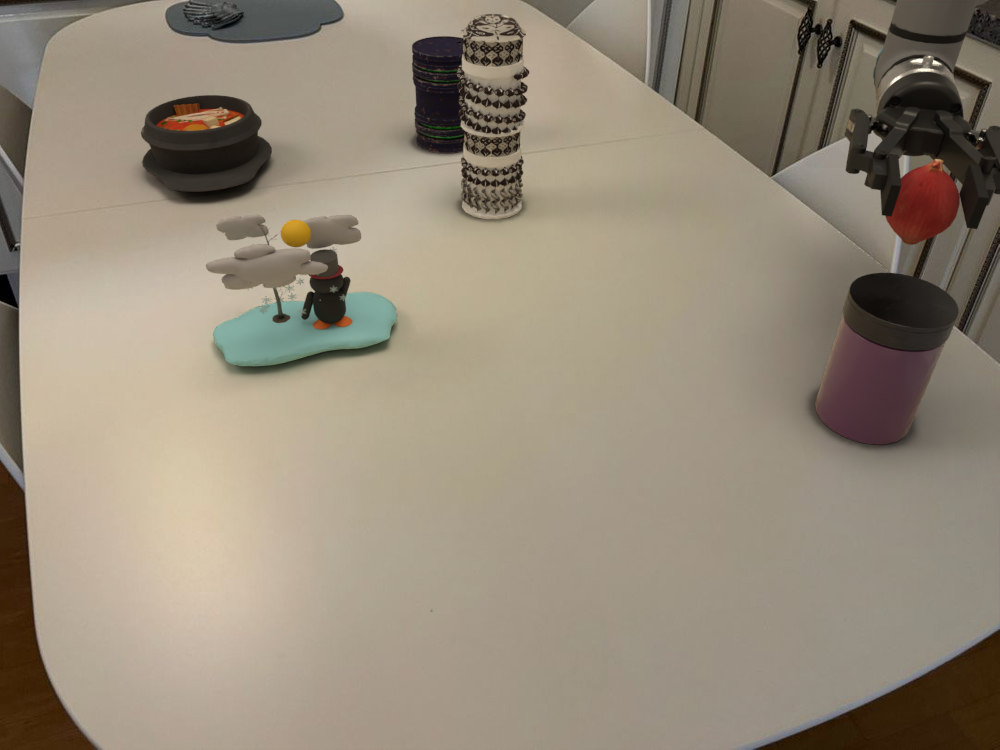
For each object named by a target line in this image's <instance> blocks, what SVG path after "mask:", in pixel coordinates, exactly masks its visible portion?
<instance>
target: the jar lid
mask: <svg viewBox="0 0 1000 750" xmlns="http://www.w3.org/2000/svg"><path fill="white" fill-rule="evenodd" d="M959 312H960V310H959V306H958V303H957V301H956V300H955V299H954V297H953V296H952V295H951V294H949V293H948V292H947V291H946V290H944V289H943V288H941V287H940V286H938V285H936V284H934V283H932V282H929V281H927V280H924V279H922V278H920V277H916V276H912V275H908V274H905V273H904V274H903V273H897V272H873V273H867V274H863V275H861V276H859V277H857V278H855V279H854V280H853V281H852V283H851V284H850V286H849V289H848V292H847V295H846V297H845V301H844V304H843V308H842V315H843V316H844V318H845V320H846V322H847V323H848V325H849V326H850V327H851V328H852V329H853V330H854V331H856V332H857V333H858V334H860V335H861V336H863V337H865V338H867V339H869V340H871V341H873V342H875V343H878V344H881V345H883V346H887V347H891V348H895V349H901V350H911V351H920V350H929V349H933V348H936V347H939V346H941V345H942V344H944V343H945V344H946V342H947V341H948V340H949V338H950V336H951V333H952V331H953V328H954V326H955V324H956V322H957V319H958V317H959ZM945 344H944V345H945Z"/></svg>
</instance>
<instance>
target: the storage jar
mask: <svg viewBox="0 0 1000 750" xmlns="http://www.w3.org/2000/svg"><path fill="white" fill-rule="evenodd" d="M411 53H412V55H411V56H412V58H411V59H412V62H411V72H412V81H413V85H414V87H415V89H414V90H415V107H414V128H415V134H416V145H417V146H418V147H419V148H421V149H422V150H425V151H427V152H431V153H435V154H457V153H463V146H464V142H465V140H464V134H465V130H464V129H463V128H462V127H461V119H460V114H459V111H460V109H461V107H460V104H459V99H460V95H461V94H460V93H459V88H458V87H457V84H458V83H459V77H457V72H458V67H459V66H461V65H462V55H463V53H464V52H463V37H459V36H451V35H449V36H448V35H441V36H438V35H437V36H429V37H425V38H424V37H423V38H420V39H418V40H416V41H414V42H413V43H412V44H411ZM462 75H465V74H463V73H462ZM463 86H464V89H465V85H464V84H462V87H463ZM464 103H465V100H464ZM464 113H465V111H464Z"/></svg>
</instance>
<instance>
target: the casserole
mask: <svg viewBox="0 0 1000 750" xmlns="http://www.w3.org/2000/svg"><path fill="white" fill-rule="evenodd" d="M262 122H263V120H262V119H261V117H260V116H259V115H258V114H257V113H256V112H255V111H254V109H253V107H252V105H251V104H250V103H249V102H247V100H243V99H241V98H238V97H234V96H229V95H219V94H217V95H216V94H207V95H206V94H204V95H202V94H201V95H192V96H186V97H180V98H176V99H171V100H169V101H166V102H163V103H160V104H159V105H157V106H155V107H153V108H152V109H151V110H149V111H148V112H147V113H146V115H145V117H144V124H143V125H144V126H143V127H142V128H141V131H140V135H141V138H142V139H143V140H144V142H145V143H147V144H148V145H149V147H150V149H148V150H147V151H146V152H145V154H144V156H143V158H142V162H141V163H142V167H143V168H144V169H145V171H146V172H147V173H149V174H150V175H153V177H155V178H157V179H159V180H160V181H161V182H162V183H163V184H164V186H165V187H166V188H167V189H170V190H173V191H176V192H183V193H193V192H194V193H200V192H201V193H202V192H213V191H219V190H226V189H230V188H234V187H238V186H241V185H244V184H246V183H248V182H250V181H251V180H253V179H254V178H255V177H256V175H257V173H258V171H259V169H260V168H261V166H262V165H264V164H265V163H266V161H268V159H269V158H270V157H271V155H272V154H273V153H272V151H273V150H272V146H271V144H270V142H268V140H266V139H264V137H262V136H259V131H260V129H261V128H262Z"/></svg>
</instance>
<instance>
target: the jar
mask: <svg viewBox="0 0 1000 750" xmlns="http://www.w3.org/2000/svg"><path fill="white" fill-rule="evenodd" d="M835 335H836V336H835V338H834V342H833V343H832V348H831V350H830V353H829V356H828V360H827V363H826V367H825V370H824V373H823V375H822V380H821V383H820V385H819V390H818V393H817V395H816V399H815V403H814V407H815V412H816V414H817V416H818V418H819V419H820V421H822V423H823V424H824V425H825V426H827V428H829V429H830V430H832V431H833V432H835V433H836V434H838V435H840V436H842V437H843V438H846V439H848V440H851V441H854V442H856V443H857V442H858V443H861V444H868V445H889V444H893V443H896V442H899V441H901V440H902V439H904V438H905V437H906V436H907V435H908V433H909V432H910V429H911V428H912V424H913V422H914V419H915V418H916V415H917V413H918V410H919V408H920V406H921V403H922V400H923V398H924V395H925V393H926V391H927V388H928V386H929V383H930V381H931V379H932V376H933V374H934V371H935V369H936V366H937V364H938V361H939V359H940V356H941V355H942V351H943V349H944V347H945V344H946V342H945V343H944V344H942V345H941V346H939V347H936V348H933V349H929V350H920V351H911V350H901V349H895V348H891V347H887V346H883V345H881V344H878V343H875V342H873V341H871V340H869V339H867V338H865V337H863V336H861V335H860V334H858V333H857V332H856V331H854V330H853V329H852V328H851V327H850V326H849V325H848V323H847V322H846V320H845V318H844V316H843V314H842V315H841V319H840V321H839V325H838V328H837V332H836V334H835Z"/></svg>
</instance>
